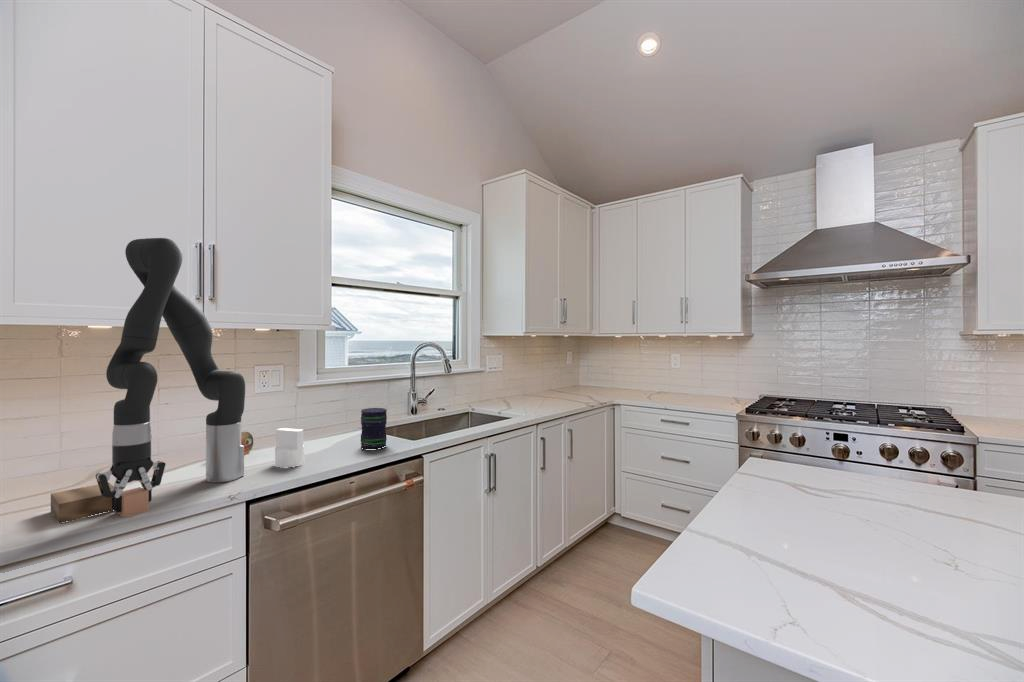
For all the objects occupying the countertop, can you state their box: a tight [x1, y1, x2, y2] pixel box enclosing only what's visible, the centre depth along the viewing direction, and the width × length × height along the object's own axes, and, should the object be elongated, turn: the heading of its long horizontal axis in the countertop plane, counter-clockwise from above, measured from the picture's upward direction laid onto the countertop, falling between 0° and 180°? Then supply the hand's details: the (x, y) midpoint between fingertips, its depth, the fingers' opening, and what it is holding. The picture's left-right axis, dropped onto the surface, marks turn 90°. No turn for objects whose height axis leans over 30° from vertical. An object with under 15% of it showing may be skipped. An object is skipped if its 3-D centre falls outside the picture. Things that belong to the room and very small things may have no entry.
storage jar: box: [360, 407, 388, 449], centre depth 181 cm, size 10×10×15 cm
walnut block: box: [50, 481, 114, 524], centre depth 115 cm, size 11×11×5 cm
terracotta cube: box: [117, 486, 150, 518], centre depth 115 cm, size 5×5×5 cm
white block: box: [274, 427, 305, 469], centre depth 157 cm, size 9×9×12 cm
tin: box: [241, 431, 254, 455], centre depth 165 cm, size 15×3×8 cm, turn 168°
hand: (132, 507), depth 115 cm, fingers closed on terracotta cube, 5 cm apart
